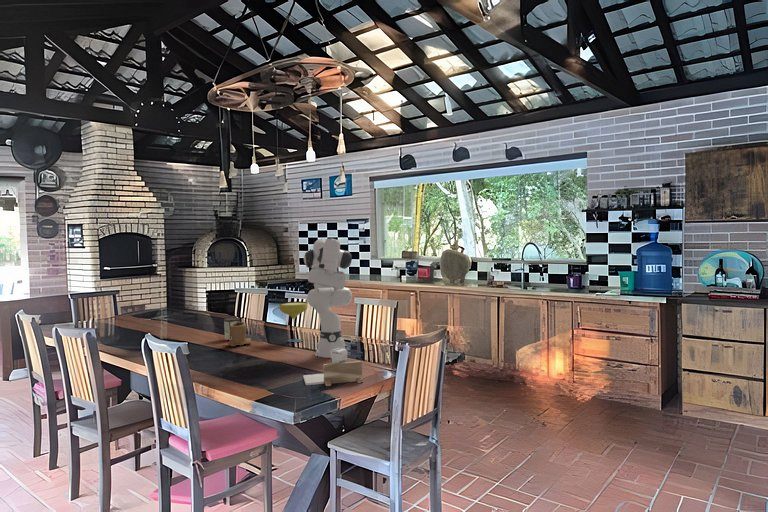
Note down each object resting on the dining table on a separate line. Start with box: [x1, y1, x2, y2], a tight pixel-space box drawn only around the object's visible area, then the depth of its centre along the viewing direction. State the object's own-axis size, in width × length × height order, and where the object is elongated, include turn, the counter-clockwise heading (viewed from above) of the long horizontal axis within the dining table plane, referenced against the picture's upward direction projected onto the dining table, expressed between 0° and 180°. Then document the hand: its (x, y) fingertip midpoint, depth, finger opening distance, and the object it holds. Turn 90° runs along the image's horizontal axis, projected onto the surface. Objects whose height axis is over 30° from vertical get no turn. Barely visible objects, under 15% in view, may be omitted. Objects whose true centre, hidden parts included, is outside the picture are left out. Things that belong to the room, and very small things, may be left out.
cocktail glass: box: [278, 301, 309, 343], centre depth 339 cm, size 18×18×25 cm
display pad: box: [302, 373, 325, 386], centre depth 250 cm, size 14×10×1 cm
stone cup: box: [227, 321, 252, 347], centre depth 332 cm, size 15×12×15 cm
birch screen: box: [322, 360, 364, 387], centre depth 244 cm, size 5×18×9 cm, turn 103°
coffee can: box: [223, 317, 241, 340], centre depth 351 cm, size 10×10×14 cm
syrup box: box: [330, 348, 348, 364], centre depth 250 cm, size 6×6×14 cm
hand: (324, 294), depth 269 cm, fingers open, 8 cm apart
